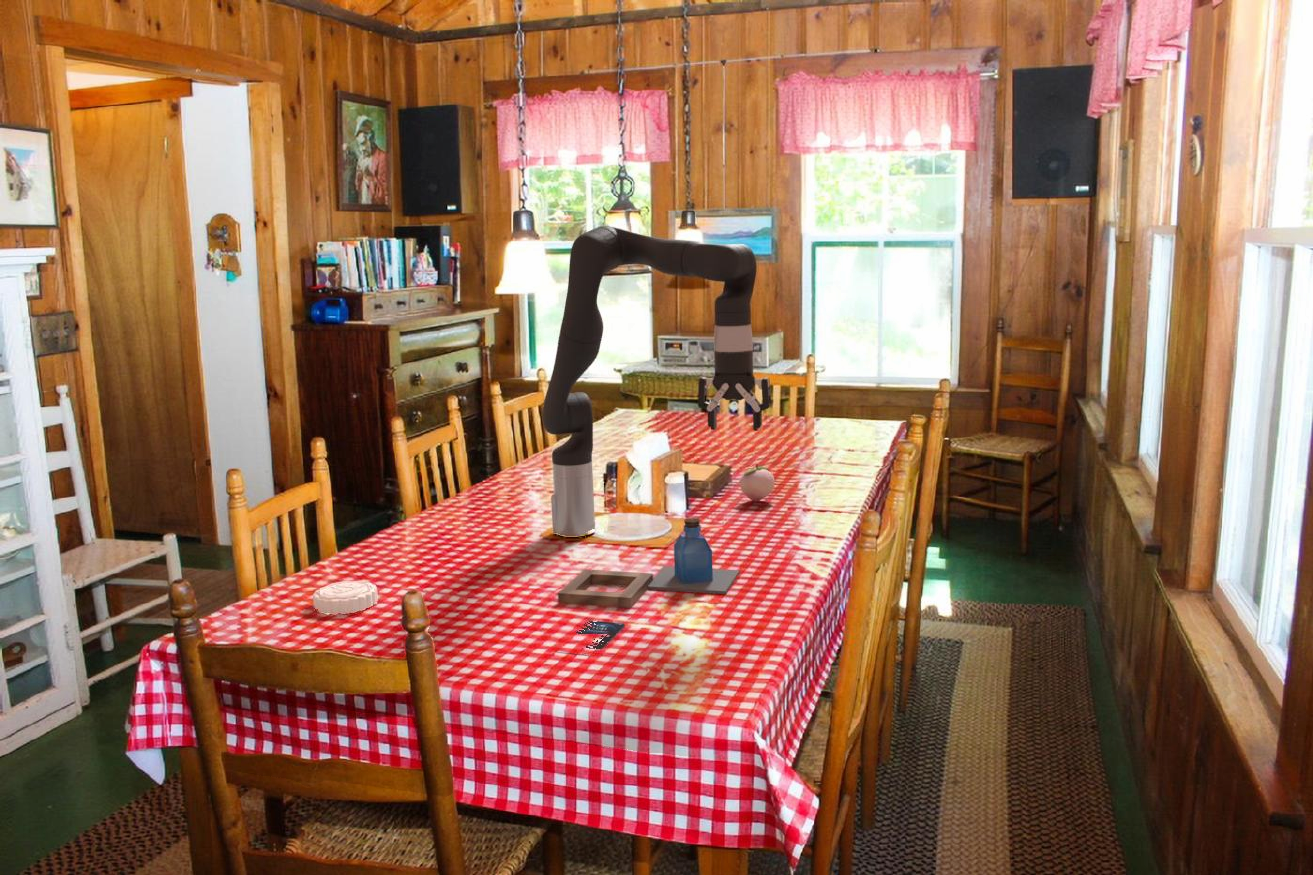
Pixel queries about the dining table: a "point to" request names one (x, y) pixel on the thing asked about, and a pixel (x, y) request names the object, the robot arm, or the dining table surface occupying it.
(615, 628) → the smartphone
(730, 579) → the rubber mat
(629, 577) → the block
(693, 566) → the perfume bottle
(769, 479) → the decorative fruit
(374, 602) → the mooncake
